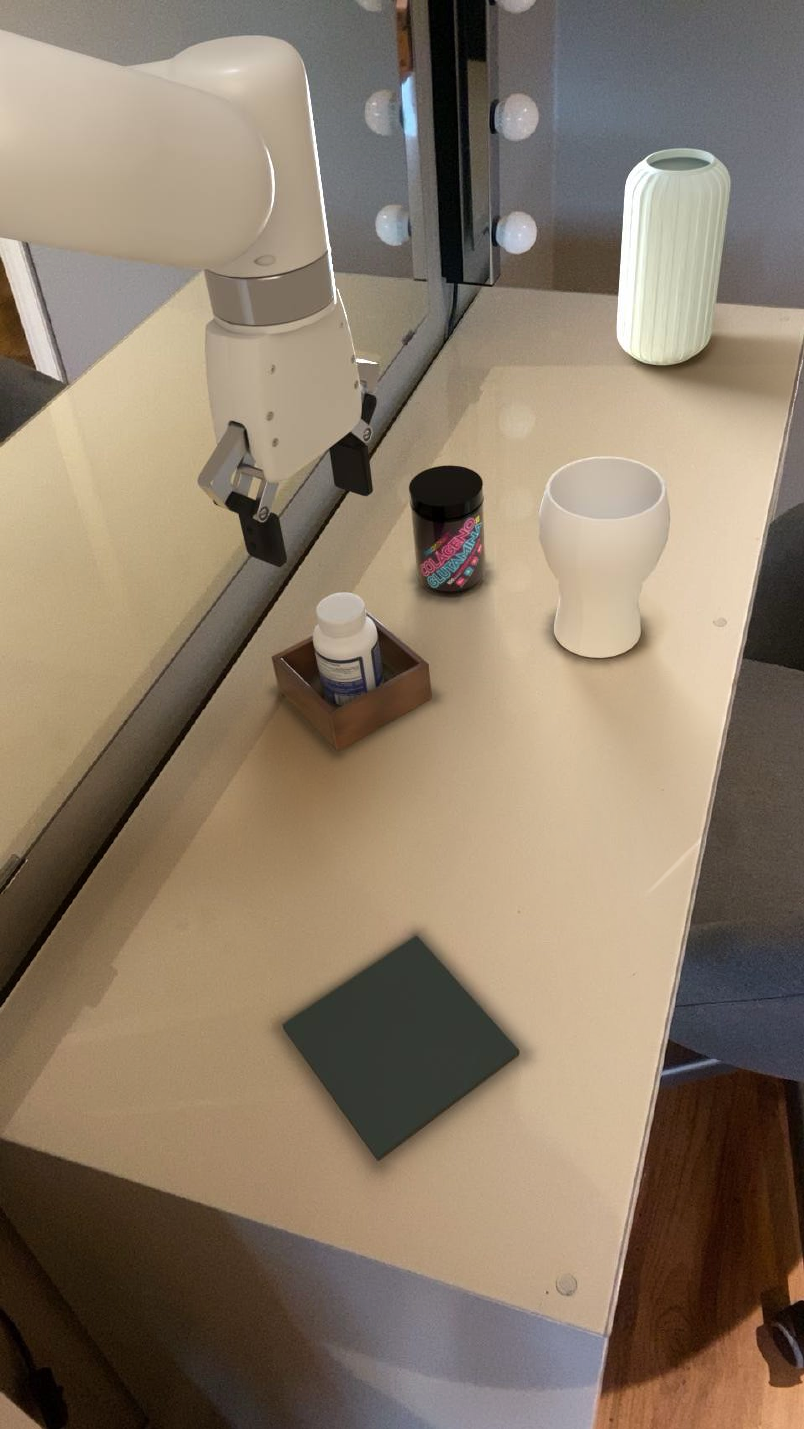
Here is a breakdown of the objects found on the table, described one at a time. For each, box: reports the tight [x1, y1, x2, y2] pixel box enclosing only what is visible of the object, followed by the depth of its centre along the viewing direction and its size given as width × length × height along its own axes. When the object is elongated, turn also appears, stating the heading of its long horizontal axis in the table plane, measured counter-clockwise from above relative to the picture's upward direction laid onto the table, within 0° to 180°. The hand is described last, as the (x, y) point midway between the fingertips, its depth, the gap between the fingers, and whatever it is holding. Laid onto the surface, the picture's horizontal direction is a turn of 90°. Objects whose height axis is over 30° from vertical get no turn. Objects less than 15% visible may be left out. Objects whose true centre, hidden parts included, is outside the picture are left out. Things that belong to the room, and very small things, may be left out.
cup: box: [538, 455, 671, 659], centre depth 89 cm, size 11×11×15 cm
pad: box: [281, 935, 520, 1161], centre depth 67 cm, size 11×11×1 cm
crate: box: [271, 609, 433, 752], centre depth 90 cm, size 10×10×4 cm
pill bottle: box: [312, 592, 385, 710], centre depth 88 cm, size 5×5×10 cm
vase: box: [616, 147, 732, 366], centre depth 124 cm, size 12×12×22 cm
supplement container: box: [408, 464, 487, 597], centre depth 98 cm, size 7×7×10 cm
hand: (312, 523), depth 75 cm, fingers open, 9 cm apart
